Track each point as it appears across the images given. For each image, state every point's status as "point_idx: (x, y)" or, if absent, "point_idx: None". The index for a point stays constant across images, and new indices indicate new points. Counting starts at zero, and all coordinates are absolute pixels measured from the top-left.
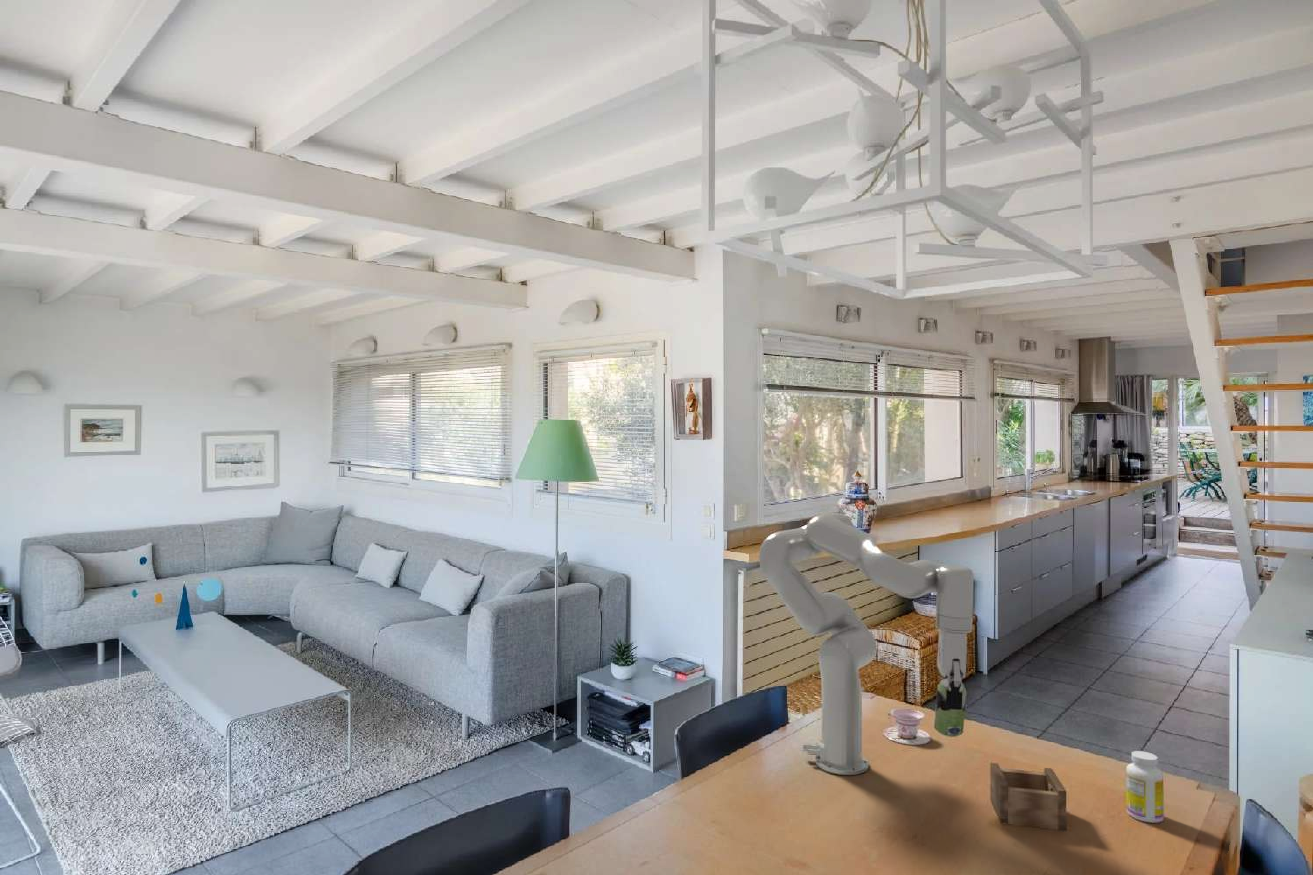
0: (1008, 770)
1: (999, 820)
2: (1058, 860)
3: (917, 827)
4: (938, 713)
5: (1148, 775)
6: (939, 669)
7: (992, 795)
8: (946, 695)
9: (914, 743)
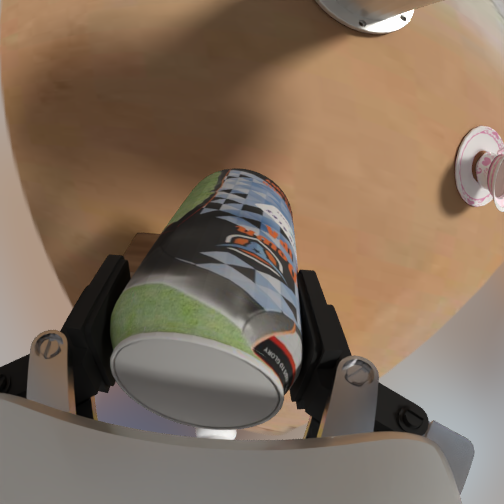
0: None
1: (144, 233)
2: (64, 277)
3: (89, 89)
4: (193, 202)
5: (196, 434)
6: (126, 457)
7: None
8: (83, 299)
9: (457, 167)
